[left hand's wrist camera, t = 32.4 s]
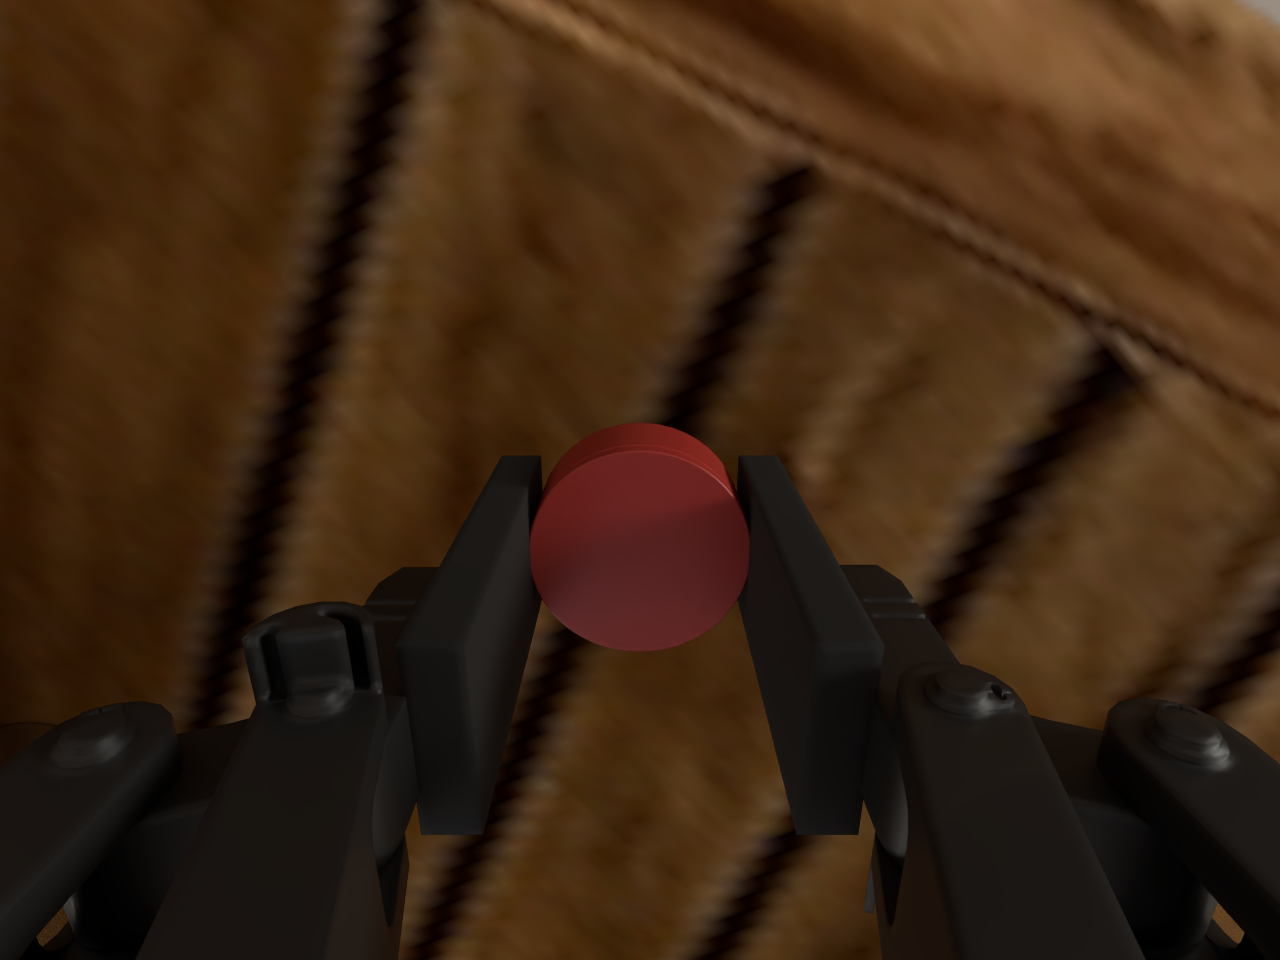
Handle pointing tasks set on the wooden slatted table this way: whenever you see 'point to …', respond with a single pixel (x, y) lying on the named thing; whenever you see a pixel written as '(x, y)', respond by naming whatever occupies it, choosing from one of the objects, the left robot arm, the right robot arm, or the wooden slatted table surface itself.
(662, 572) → the cap
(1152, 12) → the wooden slatted table surface
